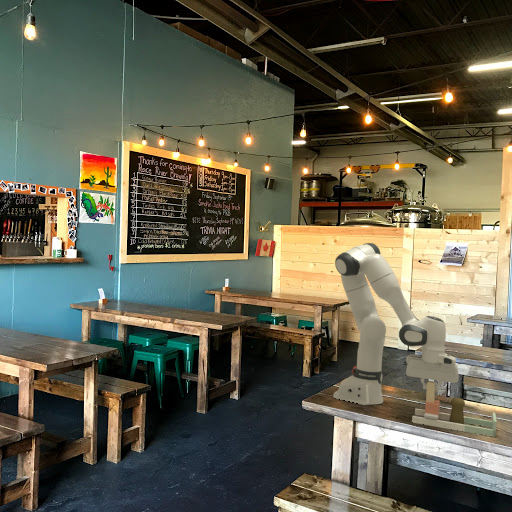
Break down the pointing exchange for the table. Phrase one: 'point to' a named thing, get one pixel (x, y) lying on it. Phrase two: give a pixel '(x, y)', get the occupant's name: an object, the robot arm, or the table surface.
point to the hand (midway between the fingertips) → (430, 390)
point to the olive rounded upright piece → (457, 411)
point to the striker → (431, 402)
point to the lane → (457, 426)
